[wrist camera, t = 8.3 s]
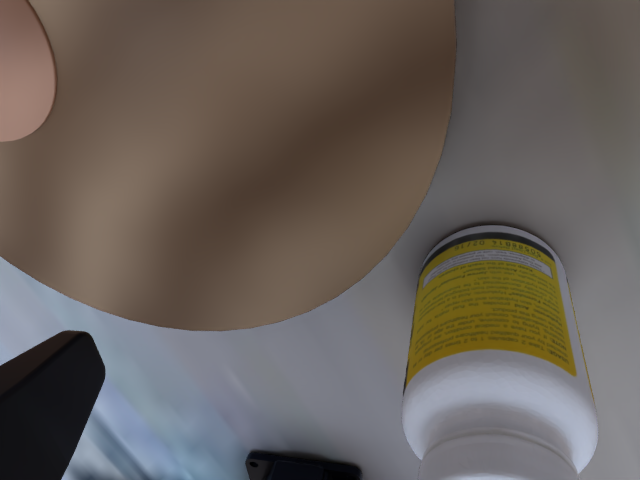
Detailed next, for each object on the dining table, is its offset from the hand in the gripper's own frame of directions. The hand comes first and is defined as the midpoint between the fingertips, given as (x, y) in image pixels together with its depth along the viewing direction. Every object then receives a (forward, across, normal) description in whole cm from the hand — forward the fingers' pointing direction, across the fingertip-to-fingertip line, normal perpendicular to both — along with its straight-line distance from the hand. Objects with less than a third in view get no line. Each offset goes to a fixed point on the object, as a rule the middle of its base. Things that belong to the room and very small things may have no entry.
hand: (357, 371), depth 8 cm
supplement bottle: (+12, -3, +7) cm, 15 cm away
